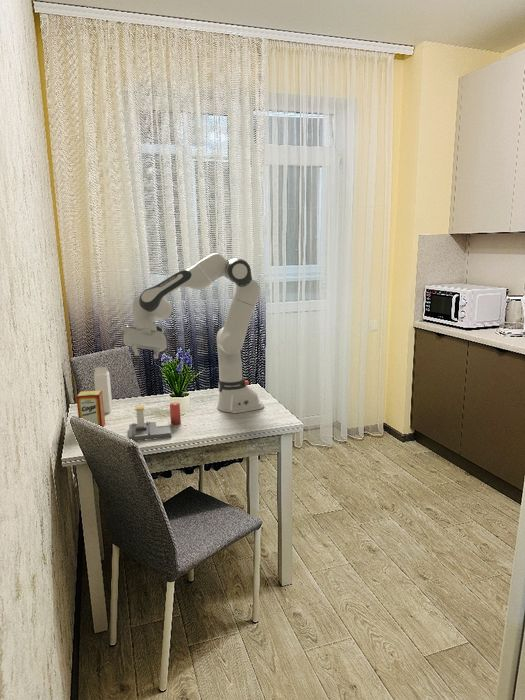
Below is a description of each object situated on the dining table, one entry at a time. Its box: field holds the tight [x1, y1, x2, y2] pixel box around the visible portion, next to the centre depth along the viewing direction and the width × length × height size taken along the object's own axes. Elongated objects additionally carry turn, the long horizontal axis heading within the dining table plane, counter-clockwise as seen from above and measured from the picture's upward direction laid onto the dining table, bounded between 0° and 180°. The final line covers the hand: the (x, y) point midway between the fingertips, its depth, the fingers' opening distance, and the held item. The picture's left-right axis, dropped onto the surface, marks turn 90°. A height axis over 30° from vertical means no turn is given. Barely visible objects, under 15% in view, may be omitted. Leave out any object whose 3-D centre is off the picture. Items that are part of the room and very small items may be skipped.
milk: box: [93, 366, 113, 414], centre depth 237 cm, size 6×6×22 cm
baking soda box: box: [75, 390, 106, 428], centre depth 217 cm, size 10×6×16 cm
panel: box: [128, 420, 172, 442], centre depth 211 cm, size 17×15×3 cm
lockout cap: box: [169, 402, 182, 426], centre depth 221 cm, size 4×4×9 cm
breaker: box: [134, 405, 147, 430], centre depth 210 cm, size 4×5×9 cm
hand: (146, 356), depth 219 cm, fingers open, 8 cm apart
